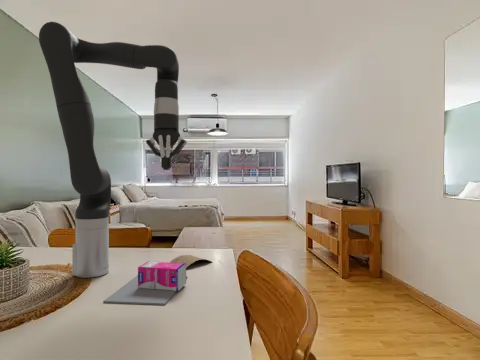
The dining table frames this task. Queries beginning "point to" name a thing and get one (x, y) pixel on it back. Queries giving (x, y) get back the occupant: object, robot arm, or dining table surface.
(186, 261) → the clay tablet
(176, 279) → the supplement box
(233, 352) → the dining table surface
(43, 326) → the dining table surface
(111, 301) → the rubber mat
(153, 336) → the dining table surface
